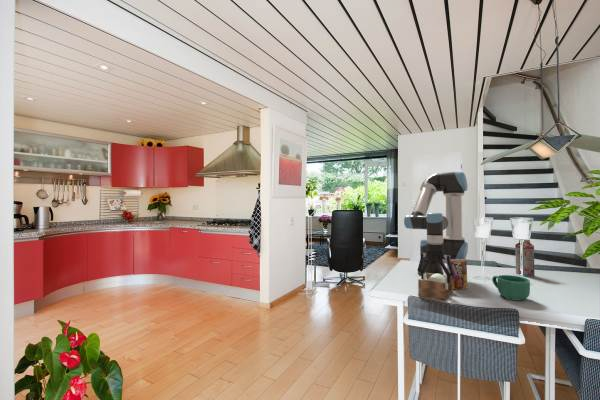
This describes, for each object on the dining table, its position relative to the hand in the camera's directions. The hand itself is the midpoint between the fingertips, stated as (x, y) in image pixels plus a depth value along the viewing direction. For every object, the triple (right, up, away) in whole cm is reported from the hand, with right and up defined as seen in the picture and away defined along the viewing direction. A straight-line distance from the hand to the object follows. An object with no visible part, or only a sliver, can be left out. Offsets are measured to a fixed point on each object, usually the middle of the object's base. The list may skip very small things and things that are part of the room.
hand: (435, 287), depth 148 cm
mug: (+34, -3, -6) cm, 34 cm away
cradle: (0, -3, 0) cm, 3 cm away
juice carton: (+73, -3, +36) cm, 81 cm away
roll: (0, -2, 0) cm, 2 cm away
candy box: (+16, -3, +9) cm, 19 cm away
